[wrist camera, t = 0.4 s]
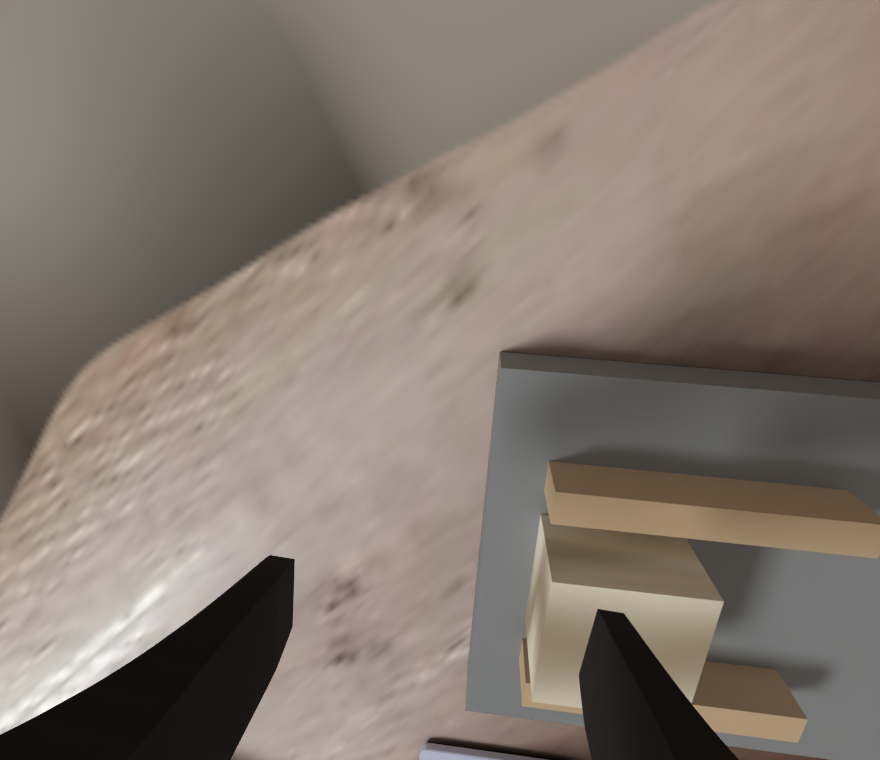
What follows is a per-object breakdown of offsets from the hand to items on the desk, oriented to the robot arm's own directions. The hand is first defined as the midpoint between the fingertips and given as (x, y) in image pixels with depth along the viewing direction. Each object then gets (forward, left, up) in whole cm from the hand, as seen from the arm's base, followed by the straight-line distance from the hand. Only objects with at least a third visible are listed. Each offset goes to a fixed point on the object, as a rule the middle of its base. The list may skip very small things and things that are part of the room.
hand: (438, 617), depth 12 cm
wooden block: (-4, -6, -7) cm, 10 cm away
